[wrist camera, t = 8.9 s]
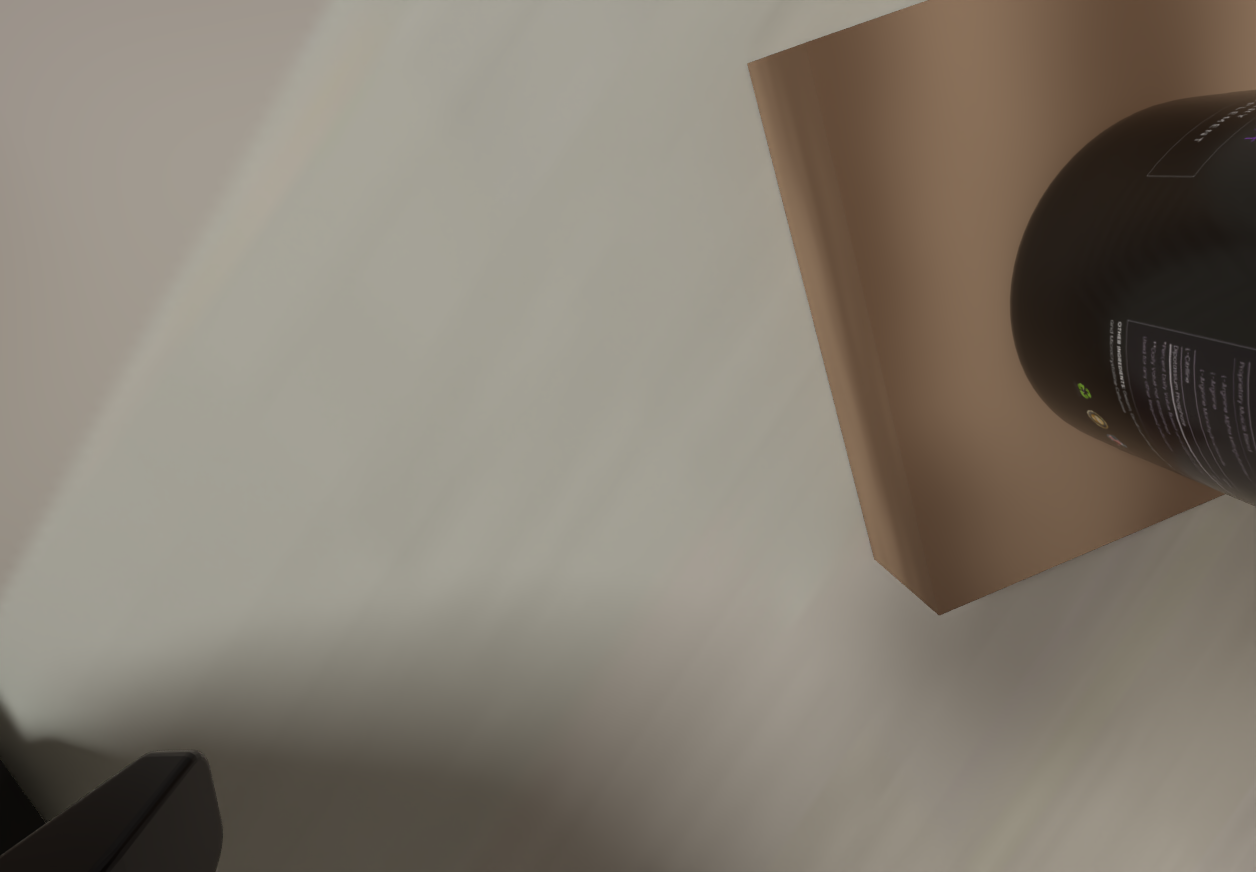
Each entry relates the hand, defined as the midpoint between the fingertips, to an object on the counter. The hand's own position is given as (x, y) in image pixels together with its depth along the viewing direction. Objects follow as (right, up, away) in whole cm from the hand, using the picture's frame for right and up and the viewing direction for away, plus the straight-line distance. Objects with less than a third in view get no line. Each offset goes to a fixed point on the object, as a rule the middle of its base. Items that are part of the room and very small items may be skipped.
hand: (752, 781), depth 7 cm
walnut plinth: (+9, +7, +13) cm, 17 cm away
